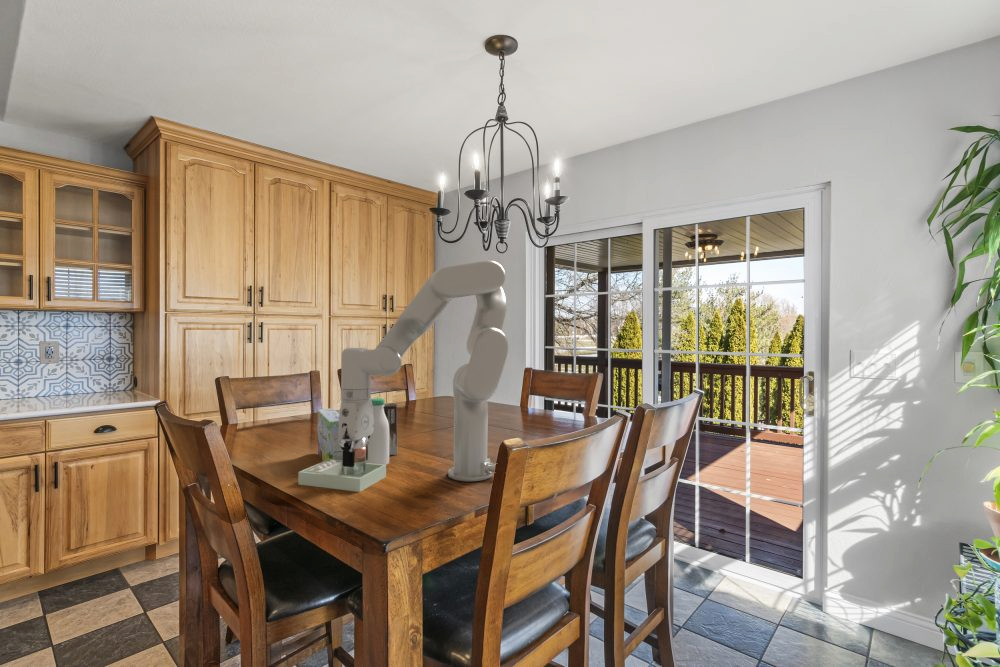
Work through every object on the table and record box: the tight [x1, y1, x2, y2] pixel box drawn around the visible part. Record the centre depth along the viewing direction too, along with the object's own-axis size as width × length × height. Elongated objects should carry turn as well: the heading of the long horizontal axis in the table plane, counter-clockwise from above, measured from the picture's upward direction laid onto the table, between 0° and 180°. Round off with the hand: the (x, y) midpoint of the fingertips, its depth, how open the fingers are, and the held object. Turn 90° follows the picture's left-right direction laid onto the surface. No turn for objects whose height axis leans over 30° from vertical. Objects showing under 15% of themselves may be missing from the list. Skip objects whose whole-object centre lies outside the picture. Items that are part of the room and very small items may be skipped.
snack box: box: [316, 407, 343, 462], centre depth 150 cm, size 21×6×15 cm, turn 30°
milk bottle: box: [366, 397, 390, 466], centre depth 148 cm, size 8×8×20 cm
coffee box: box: [384, 402, 398, 456], centre depth 162 cm, size 9×6×16 cm
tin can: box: [344, 437, 366, 475], centre depth 130 cm, size 6×6×10 cm
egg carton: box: [308, 460, 342, 476], centre depth 133 cm, size 4×9×4 cm, turn 164°
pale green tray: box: [297, 459, 387, 493], centre depth 131 cm, size 18×13×4 cm
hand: (355, 462), depth 130 cm, fingers closed on tin can, 5 cm apart
